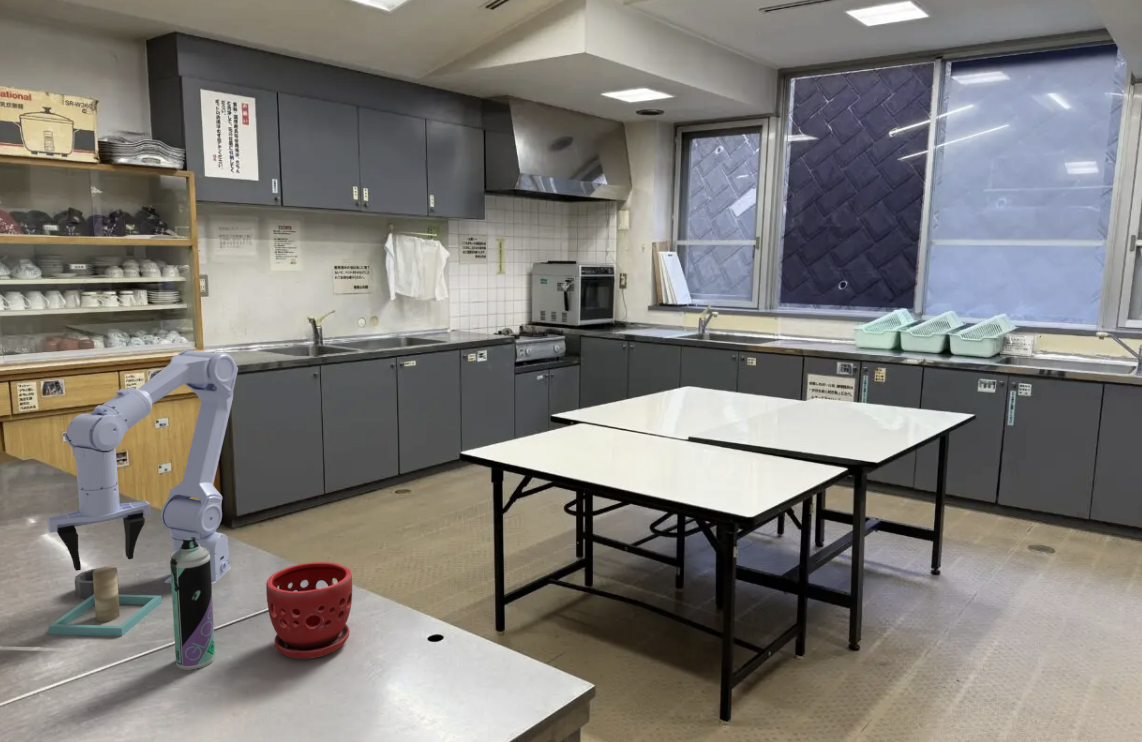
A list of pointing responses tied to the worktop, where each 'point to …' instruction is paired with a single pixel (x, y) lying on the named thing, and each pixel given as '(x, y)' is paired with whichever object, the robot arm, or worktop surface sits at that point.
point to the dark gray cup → (85, 584)
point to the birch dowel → (106, 594)
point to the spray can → (192, 605)
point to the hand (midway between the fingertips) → (103, 562)
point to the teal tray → (65, 628)
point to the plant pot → (310, 609)
